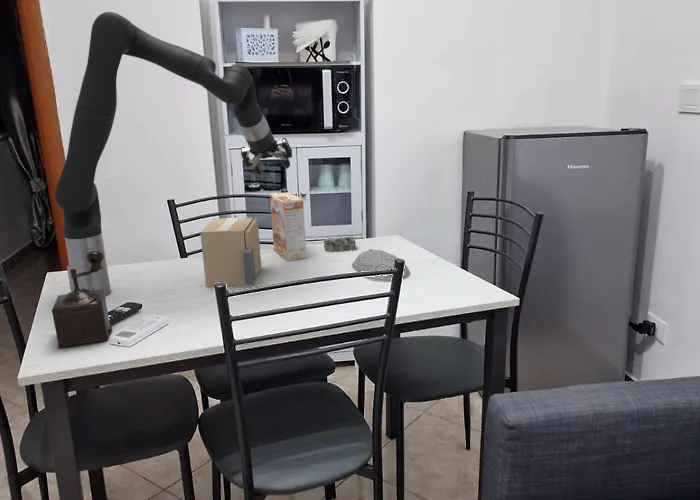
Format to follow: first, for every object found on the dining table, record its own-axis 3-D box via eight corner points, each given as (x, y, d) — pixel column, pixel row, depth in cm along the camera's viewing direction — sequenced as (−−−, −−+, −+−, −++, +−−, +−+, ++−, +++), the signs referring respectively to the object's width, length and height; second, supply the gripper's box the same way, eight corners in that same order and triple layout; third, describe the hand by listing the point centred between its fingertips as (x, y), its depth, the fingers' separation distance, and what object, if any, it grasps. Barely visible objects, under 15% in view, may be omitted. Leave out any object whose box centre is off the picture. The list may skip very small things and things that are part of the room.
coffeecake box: (273, 250, 201) (269, 193, 195) (293, 247, 203) (289, 191, 198) (286, 261, 187) (282, 201, 182) (307, 258, 190) (304, 199, 185)
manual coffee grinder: (111, 341, 133) (99, 265, 128) (57, 349, 130) (43, 272, 125) (114, 316, 147) (104, 247, 142) (66, 323, 144) (53, 253, 139)
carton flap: (258, 266, 182) (254, 219, 177) (264, 266, 182) (260, 219, 177) (245, 289, 161) (241, 237, 157) (253, 289, 161) (248, 237, 157)
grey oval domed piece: (376, 285, 162) (378, 261, 161) (339, 266, 184) (340, 245, 183) (424, 281, 169) (425, 258, 168) (382, 263, 191) (383, 242, 190)
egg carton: (325, 253, 196) (324, 241, 194) (323, 247, 203) (322, 236, 202) (356, 251, 197) (356, 239, 196) (354, 245, 204) (353, 233, 203)
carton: (218, 268, 182) (213, 218, 177) (257, 267, 182) (253, 217, 177) (206, 286, 167) (200, 231, 162) (248, 285, 166) (243, 230, 162)
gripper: (280, 116, 166) (296, 155, 179) (232, 127, 168) (251, 165, 181) (280, 134, 162) (297, 173, 175) (231, 145, 164) (251, 183, 177)
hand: (274, 169), depth 178 cm, fingers open, 8 cm apart
